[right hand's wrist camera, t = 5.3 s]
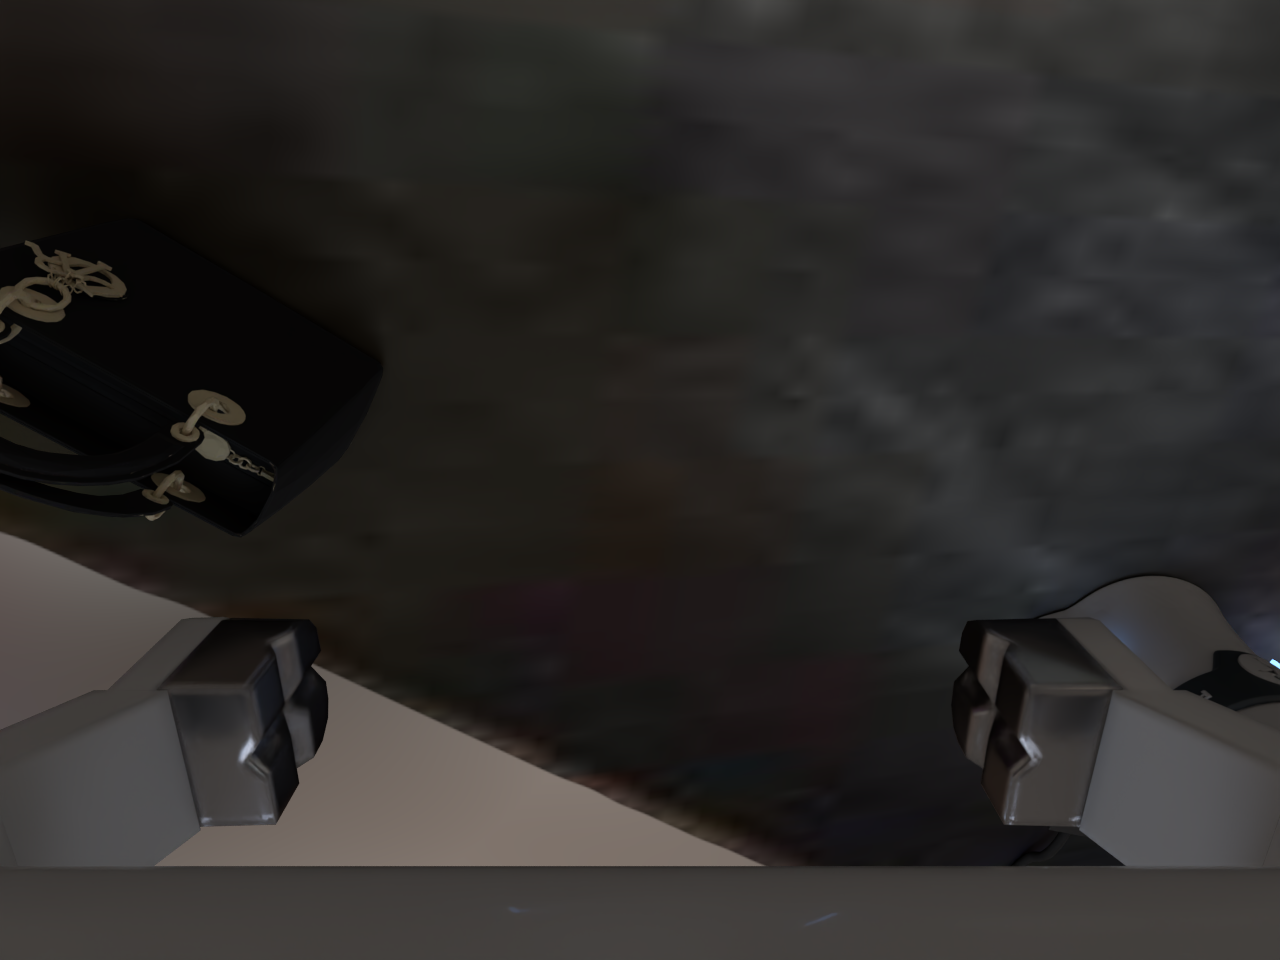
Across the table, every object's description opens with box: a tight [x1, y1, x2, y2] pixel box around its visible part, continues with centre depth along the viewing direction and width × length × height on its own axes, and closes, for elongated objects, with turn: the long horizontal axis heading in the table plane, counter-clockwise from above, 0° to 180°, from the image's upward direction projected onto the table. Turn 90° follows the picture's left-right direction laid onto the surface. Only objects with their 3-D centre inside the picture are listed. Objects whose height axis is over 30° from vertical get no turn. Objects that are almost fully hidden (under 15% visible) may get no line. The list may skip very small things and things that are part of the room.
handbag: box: [0, 219, 383, 537], centre depth 45 cm, size 21×9×25 cm, turn 57°
